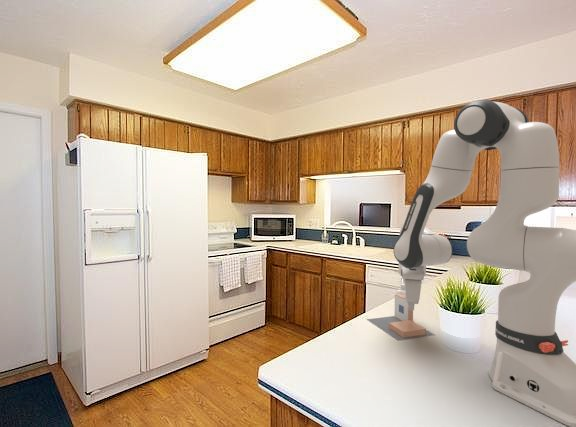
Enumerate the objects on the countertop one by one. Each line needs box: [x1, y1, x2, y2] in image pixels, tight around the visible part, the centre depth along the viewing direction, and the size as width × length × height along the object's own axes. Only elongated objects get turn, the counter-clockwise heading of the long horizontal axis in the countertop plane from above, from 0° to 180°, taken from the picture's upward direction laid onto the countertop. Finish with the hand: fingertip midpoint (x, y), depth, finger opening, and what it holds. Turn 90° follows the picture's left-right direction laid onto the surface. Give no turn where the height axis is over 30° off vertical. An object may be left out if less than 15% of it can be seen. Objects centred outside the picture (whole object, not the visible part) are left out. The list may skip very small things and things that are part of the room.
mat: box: [366, 315, 436, 342], centre depth 109 cm, size 19×15×1 cm
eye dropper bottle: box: [396, 280, 406, 297], centre depth 128 cm, size 4×6×12 cm
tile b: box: [394, 293, 414, 322], centre depth 115 cm, size 8×2×9 cm, turn 17°
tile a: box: [389, 320, 427, 338], centre depth 104 cm, size 8×2×9 cm
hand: (411, 308), depth 105 cm, fingers closed
